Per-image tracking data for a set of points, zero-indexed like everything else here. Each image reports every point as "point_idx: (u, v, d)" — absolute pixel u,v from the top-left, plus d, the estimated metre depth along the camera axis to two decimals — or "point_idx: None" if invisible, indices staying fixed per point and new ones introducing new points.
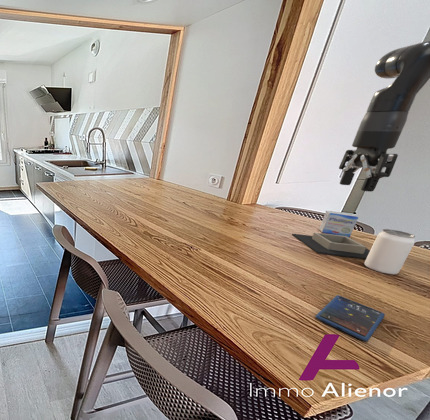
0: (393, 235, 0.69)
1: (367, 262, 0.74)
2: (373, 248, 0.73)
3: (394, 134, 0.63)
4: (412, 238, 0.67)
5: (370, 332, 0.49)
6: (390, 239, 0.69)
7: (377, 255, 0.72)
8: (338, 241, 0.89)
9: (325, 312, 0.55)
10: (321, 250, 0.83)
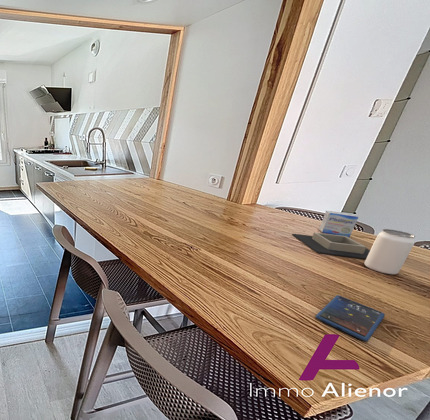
0: (393, 235, 0.69)
1: (367, 262, 0.74)
2: (373, 248, 0.73)
3: None
4: (412, 238, 0.67)
5: (370, 332, 0.49)
6: (390, 239, 0.69)
7: (377, 255, 0.72)
8: (338, 241, 0.89)
9: (325, 312, 0.55)
10: (321, 250, 0.83)
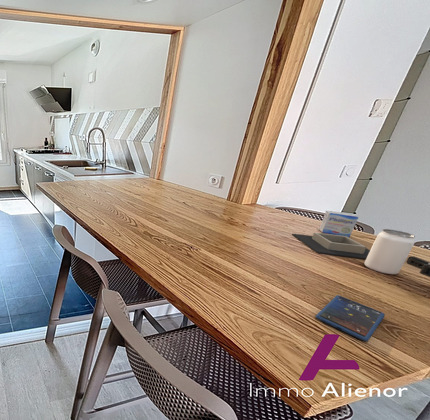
0: (393, 235, 0.69)
1: (367, 262, 0.74)
2: (373, 248, 0.73)
3: None
4: (412, 238, 0.67)
5: (370, 332, 0.49)
6: (390, 239, 0.69)
7: (377, 255, 0.72)
8: (338, 241, 0.89)
9: (325, 312, 0.55)
10: (321, 250, 0.83)
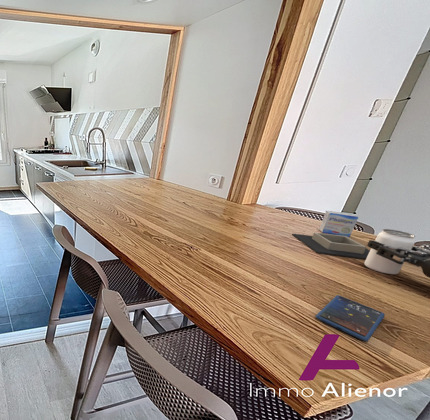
0: (393, 235, 0.69)
1: (367, 262, 0.74)
2: None
3: None
4: (412, 238, 0.67)
5: (370, 332, 0.49)
6: (391, 239, 0.69)
7: (377, 255, 0.72)
8: (338, 241, 0.89)
9: (325, 312, 0.54)
10: (321, 250, 0.83)
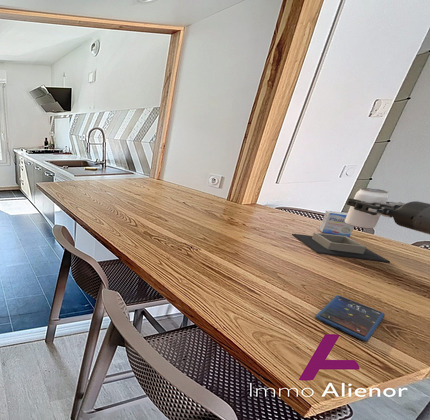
0: (369, 191, 0.75)
1: (347, 219, 0.81)
2: None
3: None
4: (386, 193, 0.74)
5: (370, 332, 0.49)
6: (367, 195, 0.75)
7: (355, 211, 0.78)
8: (338, 241, 0.89)
9: (325, 312, 0.55)
10: (321, 250, 0.83)
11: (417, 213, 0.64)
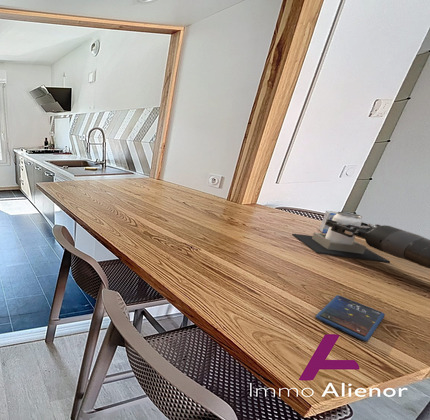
0: (344, 216, 0.82)
1: None
2: (330, 227, 0.86)
3: None
4: (359, 218, 0.80)
5: (370, 332, 0.49)
6: (342, 219, 0.82)
7: (332, 233, 0.85)
8: None
9: (325, 312, 0.54)
10: (321, 250, 0.83)
11: (385, 237, 0.71)
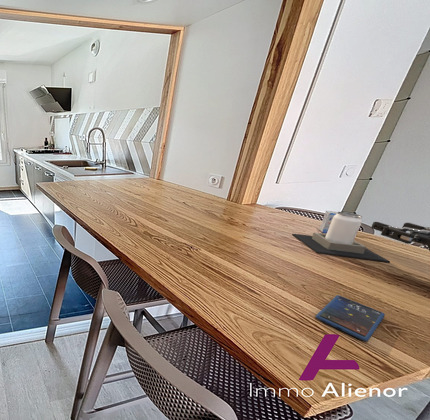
0: (344, 216, 0.82)
1: None
2: (330, 227, 0.86)
3: None
4: (359, 218, 0.80)
5: (370, 332, 0.49)
6: (342, 219, 0.82)
7: (332, 233, 0.85)
8: None
9: (325, 312, 0.55)
10: (321, 250, 0.83)
11: None
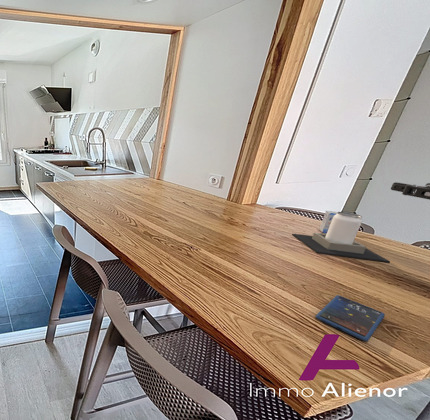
0: (344, 216, 0.82)
1: None
2: (330, 227, 0.86)
3: None
4: (359, 218, 0.80)
5: (370, 332, 0.49)
6: (342, 219, 0.82)
7: (332, 233, 0.85)
8: None
9: (325, 312, 0.54)
10: (321, 250, 0.83)
11: None
